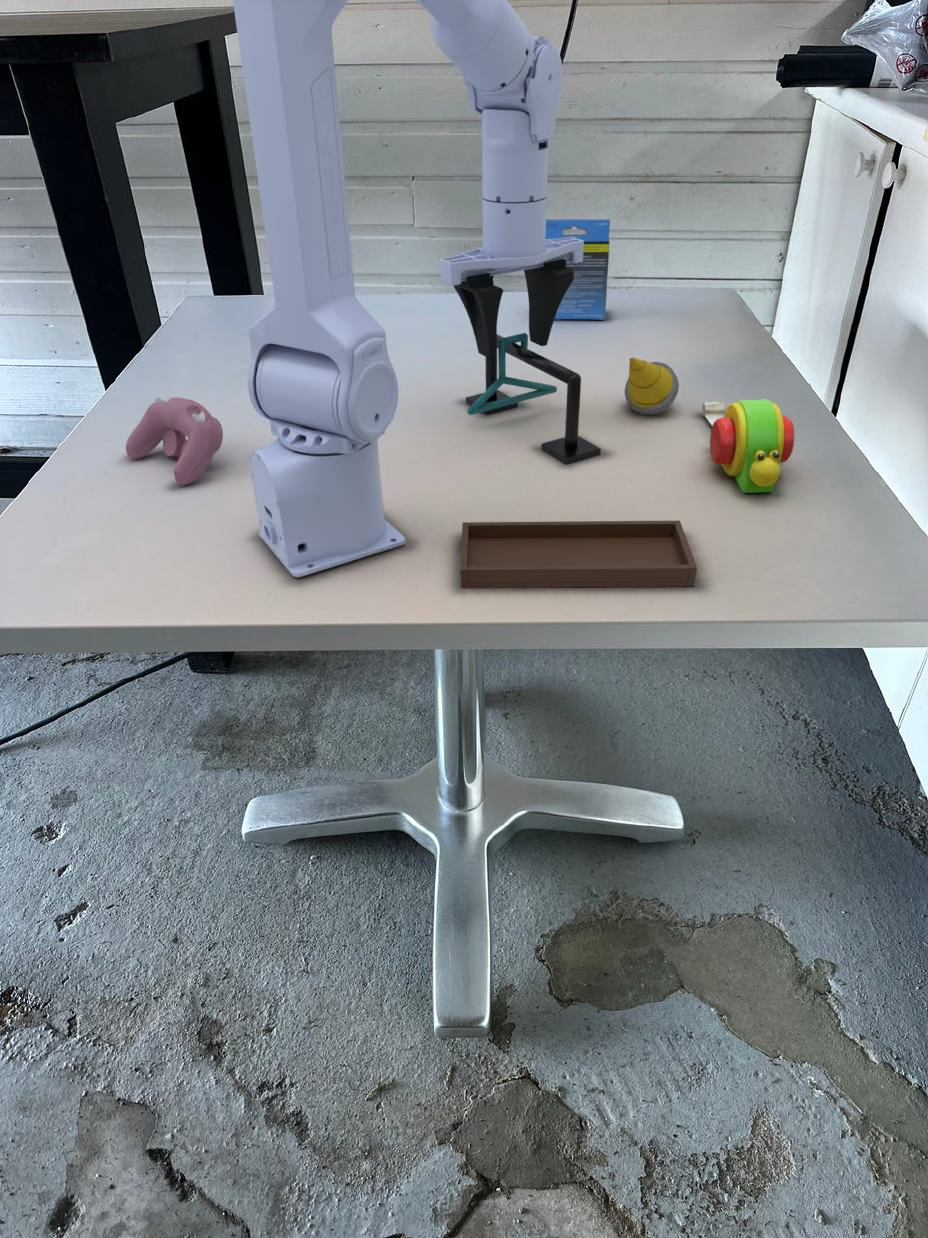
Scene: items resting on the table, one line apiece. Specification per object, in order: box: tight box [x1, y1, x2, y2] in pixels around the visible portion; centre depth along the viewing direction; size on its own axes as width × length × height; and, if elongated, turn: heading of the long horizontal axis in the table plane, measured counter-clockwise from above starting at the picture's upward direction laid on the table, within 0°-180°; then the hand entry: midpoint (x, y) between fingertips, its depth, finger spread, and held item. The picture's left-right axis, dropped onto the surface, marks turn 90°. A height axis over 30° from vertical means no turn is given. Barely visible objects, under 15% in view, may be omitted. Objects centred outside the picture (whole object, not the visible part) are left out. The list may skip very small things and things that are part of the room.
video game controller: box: [125, 396, 224, 486], centre depth 82 cm, size 10×5×7 cm, turn 47°
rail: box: [465, 333, 602, 465], centre depth 87 cm, size 4×18×8 cm, turn 31°
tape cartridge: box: [546, 218, 611, 321], centre depth 114 cm, size 9×4×12 cm, turn 83°
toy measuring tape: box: [701, 398, 795, 494], centre depth 80 cm, size 6×19×7 cm, turn 0°
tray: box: [459, 520, 698, 589], centre depth 67 cm, size 17×7×2 cm, turn 89°
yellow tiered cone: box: [624, 357, 680, 416], centre depth 89 cm, size 5×5×10 cm
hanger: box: [466, 332, 558, 416], centre depth 88 cm, size 11×1×7 cm, turn 121°
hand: (513, 348), depth 87 cm, fingers open, 5 cm apart
